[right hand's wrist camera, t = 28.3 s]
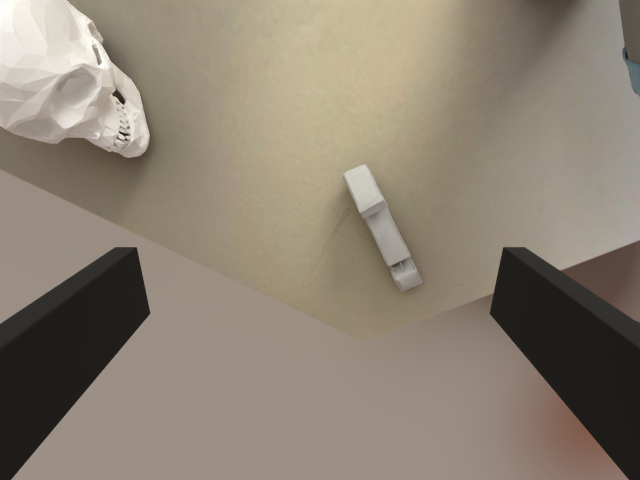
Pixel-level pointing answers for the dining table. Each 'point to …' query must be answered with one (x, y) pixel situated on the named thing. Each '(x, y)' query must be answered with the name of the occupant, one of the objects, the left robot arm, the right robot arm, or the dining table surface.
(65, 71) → the skull
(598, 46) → the dining table surface
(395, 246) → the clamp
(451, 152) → the dining table surface
